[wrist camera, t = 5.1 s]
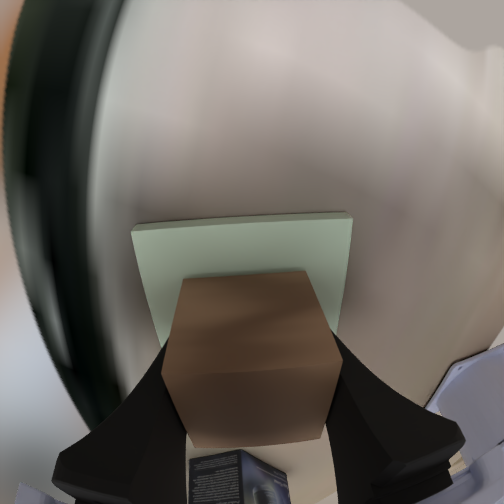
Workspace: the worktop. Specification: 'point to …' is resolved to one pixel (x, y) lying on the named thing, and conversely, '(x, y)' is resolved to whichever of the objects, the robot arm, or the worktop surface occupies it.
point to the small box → (235, 480)
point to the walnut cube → (251, 360)
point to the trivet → (242, 256)
